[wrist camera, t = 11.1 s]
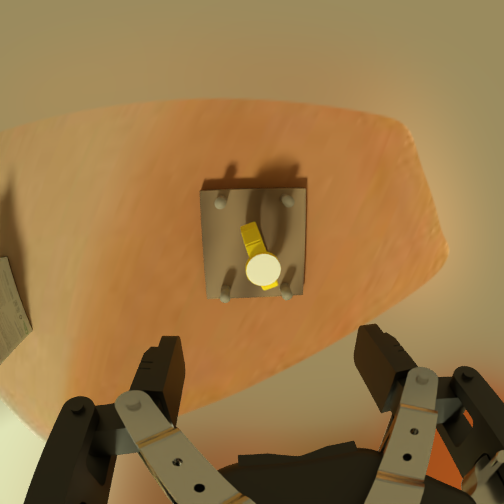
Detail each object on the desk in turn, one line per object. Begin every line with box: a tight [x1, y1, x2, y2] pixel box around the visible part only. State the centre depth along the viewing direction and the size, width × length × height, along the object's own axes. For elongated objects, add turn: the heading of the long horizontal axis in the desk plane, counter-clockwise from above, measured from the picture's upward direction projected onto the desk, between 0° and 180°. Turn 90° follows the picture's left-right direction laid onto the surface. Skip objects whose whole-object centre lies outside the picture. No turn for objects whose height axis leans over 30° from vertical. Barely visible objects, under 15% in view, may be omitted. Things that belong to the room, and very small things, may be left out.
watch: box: [240, 222, 281, 290], centre depth 26 cm, size 6×3×6 cm, turn 20°
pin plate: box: [200, 188, 306, 303], centre depth 28 cm, size 10×11×3 cm
